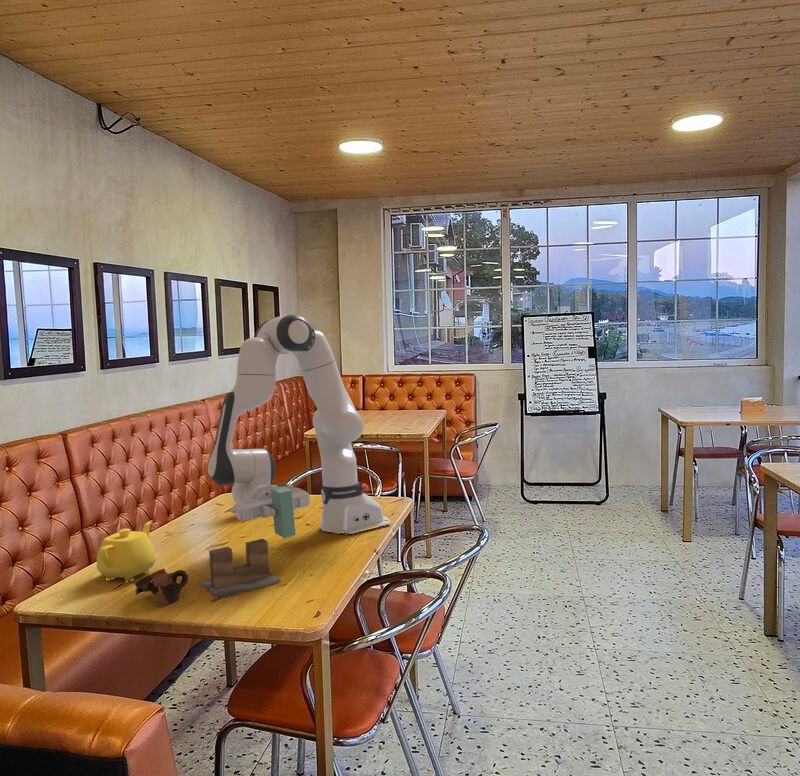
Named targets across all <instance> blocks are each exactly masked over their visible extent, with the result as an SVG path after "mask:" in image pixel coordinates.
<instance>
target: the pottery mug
mask: <svg viewBox="0 0 800 776" xmlns="http://www.w3.org/2000/svg"><path fill="white" fill-rule="evenodd" d="M179 577H181V580H180V582H179V583H178V582H177V580H178V578H179ZM188 580H189V575H188V574H187V571H185V570H183V569H178V570H176V571H174V572H171V573H169V572H167V571H166V569H165V568H161V569H158V570H155V571H154V572H152V573H150V574H148V575H146V576H144V577H142V578H140V579H139V580H137V581H136V582H135V583H134V586H135V587H136V589H135V594H136V596H138V595H139V594H141V593H144V592H151V593H152V594H153V595H157V594H158V593H159V592H160V590H161V592H162V595H160V596H159V597H158V598H155V602H156V603H157V606H158V608H162V607H164V606H166V605H169V604H170V603H173V602H176V601H178V600H179V594H180V593H181V590H182V589H183V588H184V587H186V585H187V584H188Z"/></svg>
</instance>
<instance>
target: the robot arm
mask: <svg viewBox="0 0 800 776" xmlns="http://www.w3.org/2000/svg"><path fill="white" fill-rule="evenodd" d="M289 353H292V354H293V355H294V357H295V358H296V360H297V363H298V364H299V365H298V366H299V369H300V372H301V375H302V378H303V381H304V384H305V387H306V389H307V392H308V395H309V397H310V399H311V400H312V401H313V403H314V405H315V407H316V410H315V411H314V413H313V416H312V425H313V428H314V431H315V435H316V441H317V446H318V450H319V454H320V455H319V456H320V460H321V461H320V462H321V474H322V475H321V479H322V480H321V481H322V484H321V490H320V491H321V492H320V494H321V502H322V513H321V521H320V526H319V529H320V528H321V529H322V530H324V531H328V532H344V533H353V532H357V531H361V530H364V529H368V528H371V527H376V526H381V525H384V524H389V523H390V524H391V520H390V518H389V517H387V516H386V515H384V514H383V509H382V506H381V504H379V503H378V502H377V501H376V500H374V499H373V498H372V497H370V496H369V495H367V494H366V493H364V492H367V491H368V490H369V485H367V484H366V483H362V482H360V481H358V467H357V457H356V454H355V452H354V449H353V446H352V442H355V441H357V440H358V439H359V438H360V437H361V435H362V434H363V431H364V427H365V426H364V421H363V418H362V417H361V415H360V414H359V413H358V411H357V409H356V407H355V404H354V403H353V401H352V399H351V397H350V395H349V393H348V391H347V389H346V388H345V385H344V382H343V379H342V377H341V374H340V371H339V367H338V365H337V361H336V358H335V355H334V353H333V350H332V348H331V344H330V343H329V342H328V339H327V337H326V336H325V334H324V332H321V331H319V330H316V329H314V328H312V326H311V324H310V323H309V322H308V321H307V319H306V318H304V317H303V316H301V315H297V314H288V315H281V316H277V317H274V318H272V319H269V320H266V321H264V322H263V323H261V324H260V325H259V327H258V328H257V329H256V331H255V333H254V336H253V337H249V338H247V339H245V340H244V341H243V342H242V343H241V345H240V348H239V352H238V358H237V365H236V367H237V368H236V379H235V384H234V386H233V388H232V390H231V391H230V392H228V393H227V394H225V396H224V399H223V402H222V405H221V408H220V413H219V417H218V422H217V427H216V432H215V438H214V442H213V447H212V449H211V453H210V456H209V460H208V466H207V474H208V477H209V478H210V479H211V480H212V482H214V484H216V485H218V486H221V487H222V486H229V485H232V487H231V497H232V499H233V501H234V502H235V504H234V505H233V506H232V507H230V508H229V512H230V513H232V514H235V517H236V519H237V520H239V522H246V521H251V520H254V519H260V518H261V519H264V518H265V519H267V518H269V517H271V516H272V517H273V516H276V515H279V513H278V508H276V507H275V508H272V498H271V489H273V488H277V487H284V488H287V489H289V490H291V491H292V502H293V512H295V511H296V510H297V509H301V508H305V507H309V506H310V503H311V501H310V494H309V492H308V491H305V490H304V489H302V488H299V487H293V484H289V483H288V484H285V483H284V484H273V483H274V481H275V478H276V469H277V468H276V466H277V465H276V461H275V459H274V457H273V455H272V454H271V453H270V452H269V451H268V450H267V449H266V448H249V449H248V448H246V449H244V448H243V449H242V448H241V449H233V448H232V443H233V439H234V438H233V437H234V433H235V427H236V423H237V420H238V419H239V418H240V416H241V415H243V414H244V413H245V412H248V411H251V410H253V409H256V408H259V407H261V406H263V405H264V404H266V403H268V401H270V400H271V398H272V397H273V396H274V393H275V389H276V377H277V375H276V371H277V370H276V369H277V368H276V364H277V361H278V358H279V356H280V355H285V354H289ZM383 515H384V516H383ZM384 520H388V521H384ZM322 530H321V531H322ZM324 531H323V532H324Z"/></svg>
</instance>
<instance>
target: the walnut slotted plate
mask: <svg viewBox="0 0 800 776" xmlns="http://www.w3.org/2000/svg"><path fill="white" fill-rule="evenodd" d="M244 543H245V558H246V563H243V564H239V565H235V566H234V562H233V559H234V558H233V549H232V548H230V547H229V546H224V547H220V548H219V547H218V548H214V549H211V550H208V553H209V554H208V555H209V556H208V557H209V572H210V579H209V580H204V581H202V582H201V585H202V586H203V587H204V586H205V587H206V588H207V589H208V590H207V589H206V588H205V587H204V588H205V589H206V590H207V591H208V592H209V593H210V594H212V596H213V597H215V598H216V597H217V598H220V599H223V598H222V597H224V598H226V596H227V597H230V596H229V595H231V596H234V595H233V594H235V595H238V594H237V593H239V594H241V592H243V593H246V592H249V590H250V591H253V589H254V590H257V589H256V588H258V589H260V588H259V587H261V588H264V587H263V586H265V587H267V586H266V585H269V586H272V585H271V584H273V585H275V584H274V583H276V584H279V583H278V582H280V583H281V579H279V577H276V576H275V574H273V573H271V572H270V562H269V561H270V560H269V547H268V544H269V543H268V541H267V540H266V539H264V538H260V539H256V540H251V541H246V542H244ZM245 591H246V592H245ZM217 598H216V599H217Z"/></svg>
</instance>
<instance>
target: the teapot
mask: <svg viewBox="0 0 800 776" xmlns="http://www.w3.org/2000/svg"><path fill="white" fill-rule="evenodd" d="M152 523H153V520H149V521H147V522H146V523H145V524H144V525H143V528H142V531H135V530H133V531H132V530H131V528H121V529H119V530H118V531H117V532H116V533H114V534H110V535H109V536H106V537H104V538H103V540H102V542H101V544H100V547H99V549H98V553H97V557H96V569H97V571H98V572H99V573H100V574H101V575H102V576H105V579H106V578H107V579H111V578H114V577H116V578H123V579H124V580H125V581H131V580H133V579H135V576H138V575H141V573H145V572H148V571H149V570H150V569H151V568H153V566H155V565H154V564H155V563H156V559H157V555H156V550H155V547H154V545H153V543H152V541H151V535H150V527H151V525H152ZM145 574H146V573H145ZM131 582H132V581H131Z"/></svg>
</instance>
